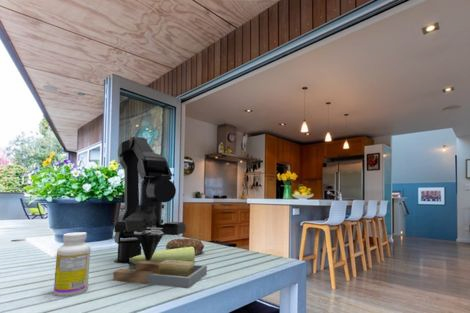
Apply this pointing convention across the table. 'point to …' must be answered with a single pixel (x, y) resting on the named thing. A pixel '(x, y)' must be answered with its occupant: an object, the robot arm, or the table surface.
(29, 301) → the table surface
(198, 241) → the donut
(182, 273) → the brass block
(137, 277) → the slot board
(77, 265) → the supplement bottle
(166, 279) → the tray
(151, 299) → the table surface
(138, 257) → the tube
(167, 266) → the brass block
